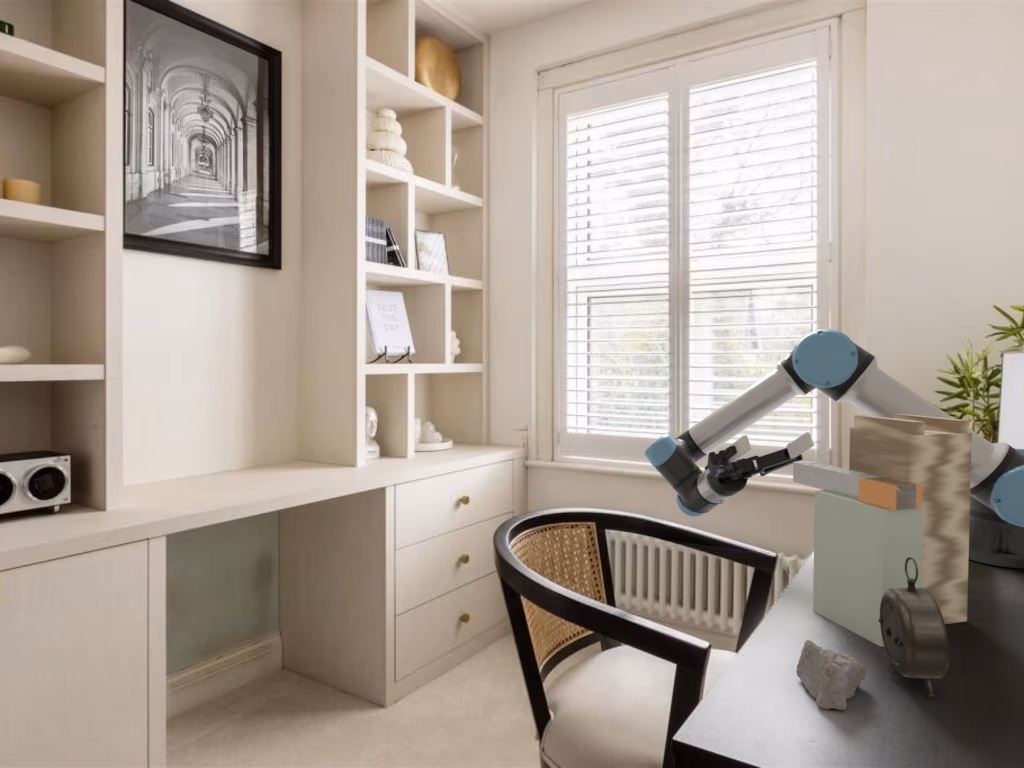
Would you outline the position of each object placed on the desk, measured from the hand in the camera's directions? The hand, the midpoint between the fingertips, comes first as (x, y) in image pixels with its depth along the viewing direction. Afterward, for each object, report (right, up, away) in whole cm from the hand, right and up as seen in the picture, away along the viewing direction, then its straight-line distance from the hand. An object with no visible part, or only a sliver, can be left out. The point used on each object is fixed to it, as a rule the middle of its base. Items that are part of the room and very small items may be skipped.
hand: (779, 440), depth 121 cm
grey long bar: (+4, -7, -16) cm, 18 cm away
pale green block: (+5, -27, -19) cm, 34 cm away
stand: (+15, -27, -13) cm, 34 cm away
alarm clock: (+2, -28, -37) cm, 46 cm away
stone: (-10, -28, -39) cm, 50 cm away
